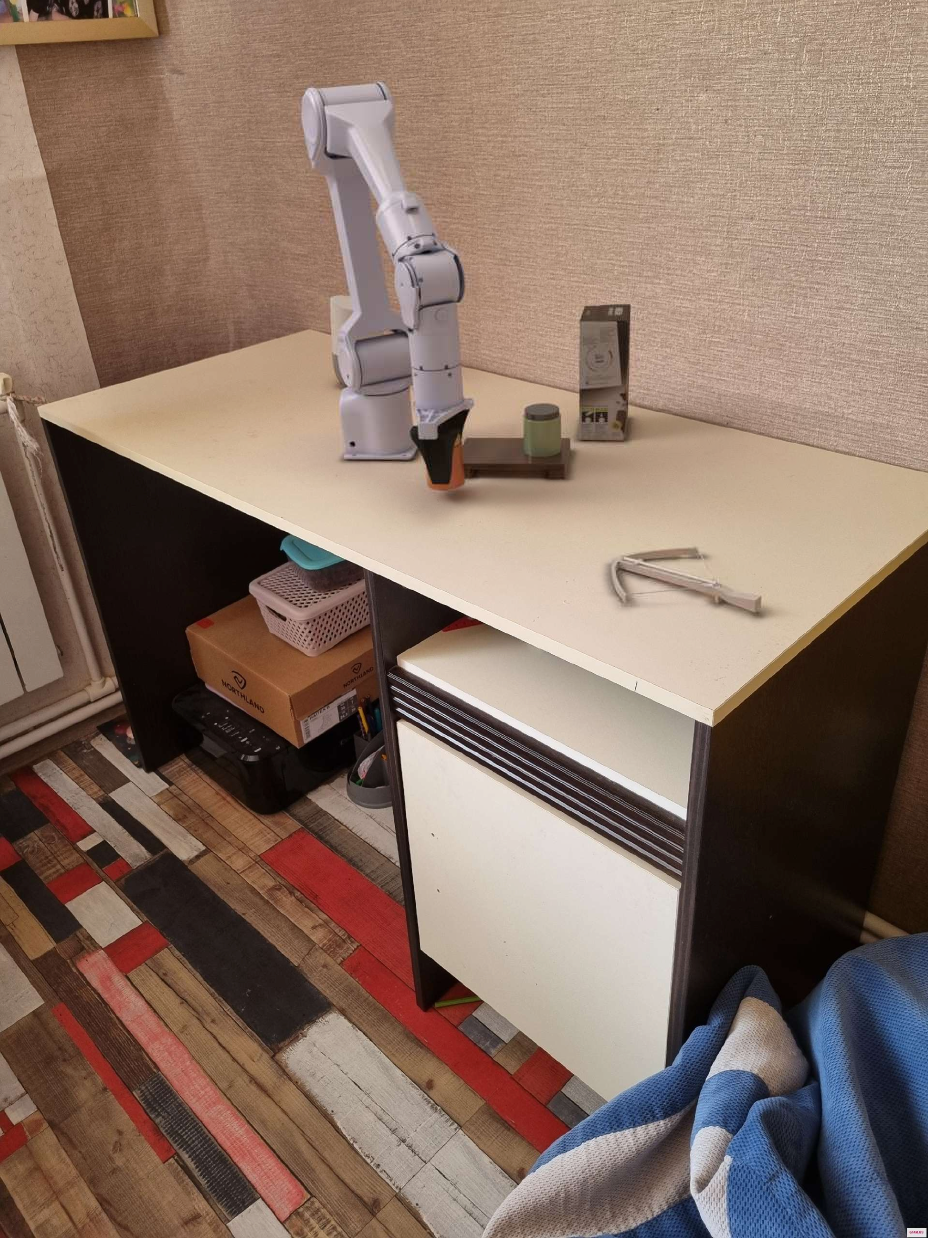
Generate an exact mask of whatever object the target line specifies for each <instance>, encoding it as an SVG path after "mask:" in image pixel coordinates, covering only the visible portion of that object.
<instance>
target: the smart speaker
mask: <svg viewBox="0 0 928 1238" xmlns="http://www.w3.org/2000/svg"><path fill="white" fill-rule="evenodd" d="M329 301H330V302H329V303H330V307H329V309H330V331H331V332H330V333H331V356H332V357H331V358H332V366H333V370H334V374H335V377H336V379H337V380H338V382H339V383H340V384H341V385H342V386H345V387H348V386H347V385H346V384H345V382H344V380H343V378H342V375H341V372H340V368H339V362H338V344H337V333H338V331H339V329H340V328H341V327H342V325H343V324H344V323H345V322H346V321H347V320H348V318H349V317H350V316H351V315H352V313H353V308H352V303H351V298H350V295H333V296H331V297H330V299H329ZM382 335H385V333H384V331H382V332H377V333H372V334H366V335H363V336H360V337H359V338H358V339H357V340H361V339H366V338H371V337H376V336H382Z"/></svg>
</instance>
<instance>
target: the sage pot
mask: <svg viewBox="0 0 928 1238" xmlns="http://www.w3.org/2000/svg"><path fill="white" fill-rule="evenodd" d="M522 431H523V437H522V438H524V452H525V454H527V455H529V456H533V457H550V456H554V455H556V454H558V453H560V452H561V438H562V414H561V412H560V407H559V406H558V405H556V404H553V403H546V402H544V403H534V404H530V405H527V406H525V408H524V410H523V415H522Z"/></svg>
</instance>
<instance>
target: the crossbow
mask: <svg viewBox="0 0 928 1238" xmlns="http://www.w3.org/2000/svg"><path fill="white" fill-rule="evenodd" d="M693 555H699V556H700V558H701V560H702V561H703V562H704V565H705V566H706V568H707V570H708V571H709V574H710V575H711V577H712V578H713V579H711V578H709V579H707V578H705V577H701V576H697V575H693V574H690V573H687V572H683V571H679V570H675V569H671V568H668V567H664V566H660V565H658V564H657V565H656V564H654V563H649V562H646V561H644V560H646V559H653V558H663V557H672V556H693ZM610 567H611V579H612V583H613V585H614V588H615V591H616V592H617V594H618V595H619V597H620V598H621V602H623V603H627V596H632V595H641V594H642V595H643V594H652V593H662V592H663V593H664V592H673V591H683V590H684V591H685V590H696V591H700V592H703V593H707V594H710V595H712V599H714V600H715V603H716V604H719V603H720V602H722V601H725V602H726V603H729V604H731V605H734V606H737V607H739V608H742V609H744V610H746V611H749V612H752V613H756V612H757V611H759V610H760V609H761V608H762V595H759V594H754V593H748V592H742V591H737V590H734V589H732V588H731V587H729V586H727V585H725V584H723V583H721V582H717V580H716V578H715V576H714V575H713V573H712V571H711V570H710V568H709V566H708V564H707V562H706V560H705V559H704V557H703V555H702V553H701V552H700V551H699V546H696V545H692V546H689V547H687V546H686V547H670V548H668V547H667V548H660V549H659V548H658V549H650V550H649V549H647V550H642V551H636V552H631V553H627V554H622V555H620V556H619V557H617V558H615V559H613V560H612V564H611V565H610ZM619 569H622V570H626V571H629V572H631V573H636V574H639V575H644V576H646V577H647V576H648V577H651V578H654V579H658V580H661V581H665V582H667V583H668V582H669V583H670V584H671V583H672V584H675V585H679V586H682V587H685V588H675V589H674V588H673V589H665V590H655V591H643V592H634V593H633V592H632V593H626V592H625V590H624V589H623V587H622V586H621V584H620V581H619V580H618V577H617V571H618V570H619Z"/></svg>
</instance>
